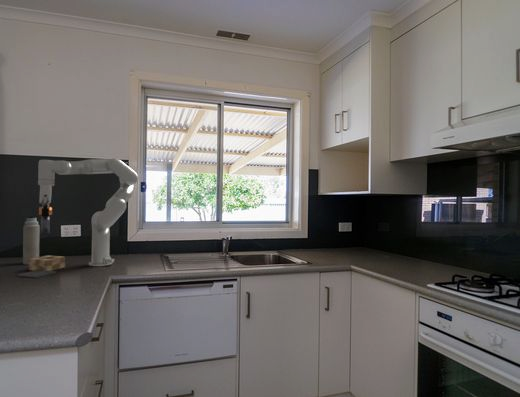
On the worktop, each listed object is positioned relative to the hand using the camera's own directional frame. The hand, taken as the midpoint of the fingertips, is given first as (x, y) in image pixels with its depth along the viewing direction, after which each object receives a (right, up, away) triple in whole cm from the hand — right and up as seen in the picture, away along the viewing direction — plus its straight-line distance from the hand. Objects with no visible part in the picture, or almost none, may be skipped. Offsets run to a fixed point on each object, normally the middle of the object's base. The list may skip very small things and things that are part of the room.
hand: (45, 215), depth 185 cm
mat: (+2, -30, -11) cm, 32 cm away
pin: (0, -10, 0) cm, 10 cm away
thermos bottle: (-20, -29, +17) cm, 39 cm away
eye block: (-1, -30, +3) cm, 30 cm away
